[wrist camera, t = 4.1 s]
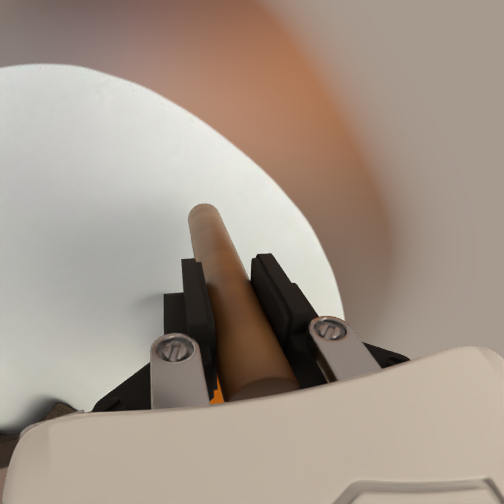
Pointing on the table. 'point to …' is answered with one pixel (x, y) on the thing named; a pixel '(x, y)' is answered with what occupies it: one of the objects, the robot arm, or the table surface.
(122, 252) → the table surface
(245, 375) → the stick
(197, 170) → the table surface
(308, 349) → the robot arm
